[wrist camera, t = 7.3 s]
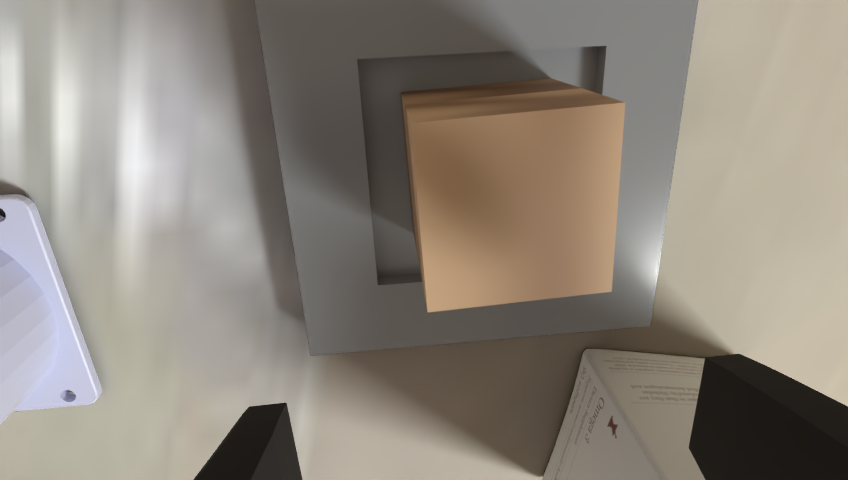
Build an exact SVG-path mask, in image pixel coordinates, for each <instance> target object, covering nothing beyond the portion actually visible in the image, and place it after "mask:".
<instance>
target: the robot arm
mask: <svg viewBox="0 0 848 480" xmlns="http://www.w3.org/2000/svg"><path fill="white" fill-rule="evenodd" d="M0 208H1V209H3V211H4V212H5V214H6V217H2V216H0V425H1V423H2V422H3V421H4V420H5V419H6V418H7V417H8V416H9V415H10V414H11V413H12V412H13V411H24V410H35V409H46V408H57V407H68V406H79V405H88V404H92V403H94V402H95V401H96V400H97V399H98V397H99V396H100V394H101V392H102V389H101V385H100V382H99V379H98V377H97V374H96V371H95V368H94V365H93V363H92V360H91V357H90V354H89V351H88V349H87V346H86V343H85V340H84V338H83V335H82V332H81V329H80V326H79V324H78V321H77V318H76V315H75V313H74V310H73V307H72V304H71V301H70V299H69V296H68V293H67V290H66V288H65V285H64V282H63V279H62V276H61V274H60V271H59V268H58V265H57V263H56V260H55V257H54V254H53V251H52V249H51V246H50V243H49V240H48V237H47V235H46V232H45V229H44V226H43V224H42V221H41V218H40V215H39V212H38V210H37V207H36V206H35V204H34V202H32V201H31V200H30V199H29V198H28V197H25V196H23V195H18V194H9V195H0ZM67 390H70V391H72V392H74V394H75V395H74V394H71V393H69V392H68V391H67ZM689 450H690V451H691V453H692V455H693V457H694V459H695V461H696V463H697V465H698V467H699V469H700V471H701V473H702V474H703V476H704V478H705V480H848V407H847V406H845V405H843V404H841V403H840V402H838V401H836V400H834V399H832V398H830V397H828V396H826V395H824V394H822V393H820V392H818V391H816V390H814V389H812V388H810V387H808V386H806V385H804V384H802V383H800V382H798V381H796V380H794V379H792V378H790V377H788V376H786V375H784V374H782V373H780V372H778V371H776V370H774V369H771V368H769V367H767V366H765V365H763V364H761V363H759V362H757V361H754V360H752V359H750V358H747V357H745V356H743V355H740V354H734V355H724V356H715V357H706V358H705V361H704V367H703V372H702V377H701V383H700V388H699V394H698V399H697V405H696V410H695V415H694V421H693V426H692V432H691V437H690V442H689ZM194 480H302V476H301V471H300V466H299V461H298V457H297V452H296V447H295V442H294V437H293V432H292V428H291V423H290V418H289V413H288V408H287V403H279V404H270V405H261V406H252V407H249V408H248V409H247V410H246V411H245V412H244V413H243V414H242V416H241V417H240V418H239V420H238V421H237V422H236V424H235V425H234V426H233V428H232V429H231V431H230V432H229V433H228V435H227V436H226V437H225V439H224V440H223V441H222V443H221V444H220V445H219V447H218V448H217V449H216V451H215V452H214V453H213V455H212V456H211V457H210V459H209V460H208V461H207V463H206V464H205V465H204V467H203V468H202V469H201V471H200V472H199V473H198V475H197V476H196V477H195V478H194Z"/></svg>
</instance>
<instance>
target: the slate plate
mask: <svg viewBox="0 0 848 480" xmlns="http://www.w3.org/2000/svg"><path fill="white" fill-rule="evenodd" d="M254 2H255V8H256V14H257V21H258V27H259V33H260V40H261V46H262V52H263V58H264V65H265V71H266V77H267V84H268V90H269V96H270V103H271V109H272V115H273V122H274V128H275V134H276V141H277V147H278V153H279V159H280V166H281V172H282V178H283V185H284V191H285V197H286V204H287V210H288V216H289V223H290V229H291V235H292V242H293V248H294V254H295V260H296V267H297V273H298V279H299V286H300V292H301V298H302V305H303V311H304V317H305V324H306V330H307V336H308V342H309V349H310V355H311V356H316V355H327V354H338V353H350V352H361V351H373V350H384V349H395V348H407V347H418V346H430V345H441V344H453V343H464V342H475V341H487V340H498V339H510V338H521V337H532V336H544V335H555V334H567V333H578V332H589V331H601V330H612V329H624V328H635V327H646V326H650V325H651V318H652V311H653V304H654V298H655V291H656V284H657V277H658V270H659V264H660V257H661V250H662V243H663V236H664V230H665V223H666V216H667V209H668V203H669V196H670V189H671V182H672V175H673V169H674V162H675V155H676V148H677V141H678V135H679V128H680V121H681V114H682V108H683V101H684V94H685V87H686V80H687V74H688V67H689V60H690V53H691V46H692V40H693V33H694V26H695V19H696V13H697V6H698V0H254ZM548 78H552V79H555V80H558V81H561V82H564V83H567V84H570V85H573V86H577V87H580V88H583V89H586V90H589V91H592V92H595V93H598V94H601V95H604V96H607V97H610V98H613V99H616V100H619V101H622V102H625V115H624V129H623V142H622V156H621V170H620V184H619V197H618V211H617V225H616V239H615V253H614V266H613V280H612V292H604V293H595V294H586V295H578V296H569V297H560V298H551V299H542V300H534V301H525V302H516V303H507V304H498V305H489V306H481V307H472V308H463V309H454V310H445V311H436V312H427V306H426V301H425V295H424V289H423V284H422V278H421V272H420V267H419V261H418V255H417V249H416V244H415V238H414V231H413V221H412V210H411V200H410V189H409V178H408V168H407V157H406V147H405V136H404V126H403V115H402V104H401V94H400V92H408V91H419V90H430V89H440V88H451V87H462V86H473V85H483V84H494V83H505V82H516V81H526V80H537V79H548Z"/></svg>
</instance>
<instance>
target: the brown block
mask: <svg viewBox="0 0 848 480" xmlns="http://www.w3.org/2000/svg"><path fill="white" fill-rule="evenodd" d="M400 94H401V104H402V115H403V126H404V136H405V147H406V157H407V168H408V178H409V189H410V200H411V210H412V221H413V231H414V238H415V244H416V249H417V255H418V261H419V267H420V272H421V278H422V284H423V289H424V295H425V301H426V306H427V312H436V311H445V310H454V309H463V308H472V307H481V306H489V305H498V304H507V303H516V302H525V301H534V300H542V299H551V298H560V297H569V296H578V295H586V294H595V293H604V292H612V280H613V266H614V253H615V239H616V225H617V211H618V197H619V184H620V170H621V156H622V142H623V129H624V115H625V102H622V101H619V100H616V99H613V98H610V97H607V96H604V95H601V94H598V93H595V92H592V91H589V90H586V89H583V88H580V87H577V86H573V85H570V84H567V83H564V82H561V81H558V80H555V79H552V78H548V79H537V80H526V81H516V82H505V83H494V84H483V85H473V86H462V87H451V88H440V89H430V90H419V91H408V92H400Z"/></svg>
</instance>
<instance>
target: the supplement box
mask: <svg viewBox="0 0 848 480" xmlns="http://www.w3.org/2000/svg"><path fill="white" fill-rule="evenodd" d="M704 361H705V358H694V357H686V356H672V355H663V354H652V353H640V352H630V351H616V350H606V349H586V350H585V351H584V353H583V355H582V359H581V363H580V367H579V371H578V375H577V379H576V382H575V386H574V389H573V392H572V396H571V399H570V403H569V406H568V409H567V412H566V415H565V418H564V421H563V423H562V426H561V429H560V432H559V435H558V438H557V440H556V444H555V447H554V450H553V452H552V455H551V458H550V460H549V463H548V466H547V468H546V471H545V473H544V476H543V479H542V480H705V478H704V476H703V474H702V473H701V471H700V469H699V467H698V465H697V463H696V461H695V459H694V457H693V455H692V453H691V451H690V450H689V442H690V437H691V432H692V426H693V421H694V415H695V410H696V405H697V399H698V394H699V388H700V383H701V377H702V372H703V367H704Z"/></svg>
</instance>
